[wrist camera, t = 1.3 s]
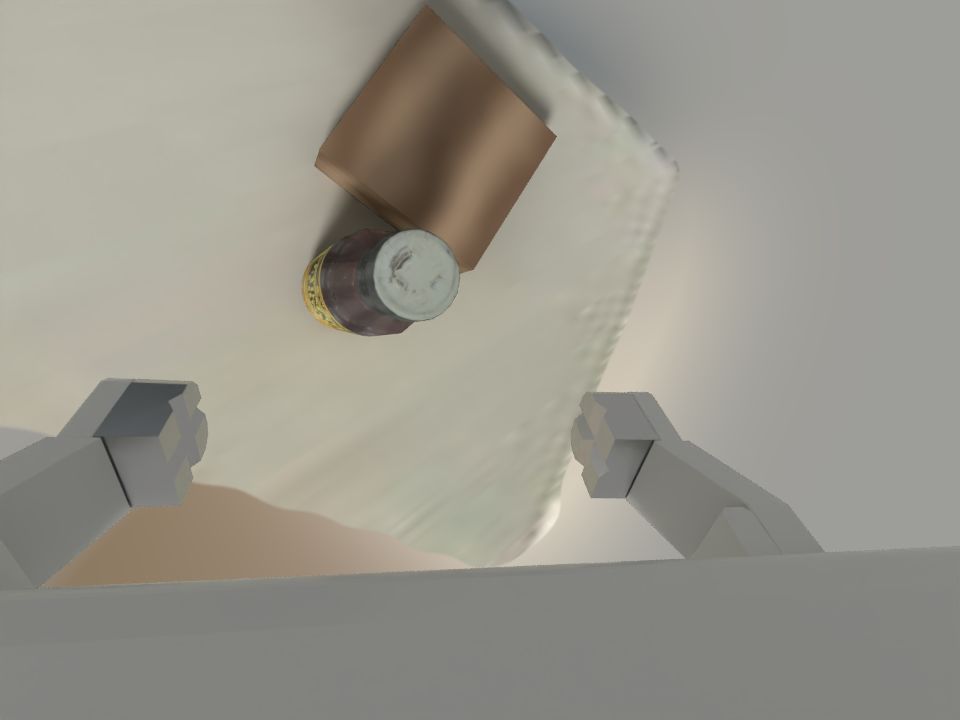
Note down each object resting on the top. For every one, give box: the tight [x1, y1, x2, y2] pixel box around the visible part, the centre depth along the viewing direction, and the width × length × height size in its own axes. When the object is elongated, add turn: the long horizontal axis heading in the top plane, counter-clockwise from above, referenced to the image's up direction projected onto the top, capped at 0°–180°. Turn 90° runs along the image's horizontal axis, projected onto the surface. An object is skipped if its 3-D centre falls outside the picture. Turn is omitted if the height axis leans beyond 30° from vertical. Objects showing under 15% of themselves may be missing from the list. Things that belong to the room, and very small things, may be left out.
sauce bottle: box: [302, 229, 460, 336], centre depth 30 cm, size 6×6×20 cm
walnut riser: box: [314, 4, 557, 273], centre depth 39 cm, size 14×14×4 cm
